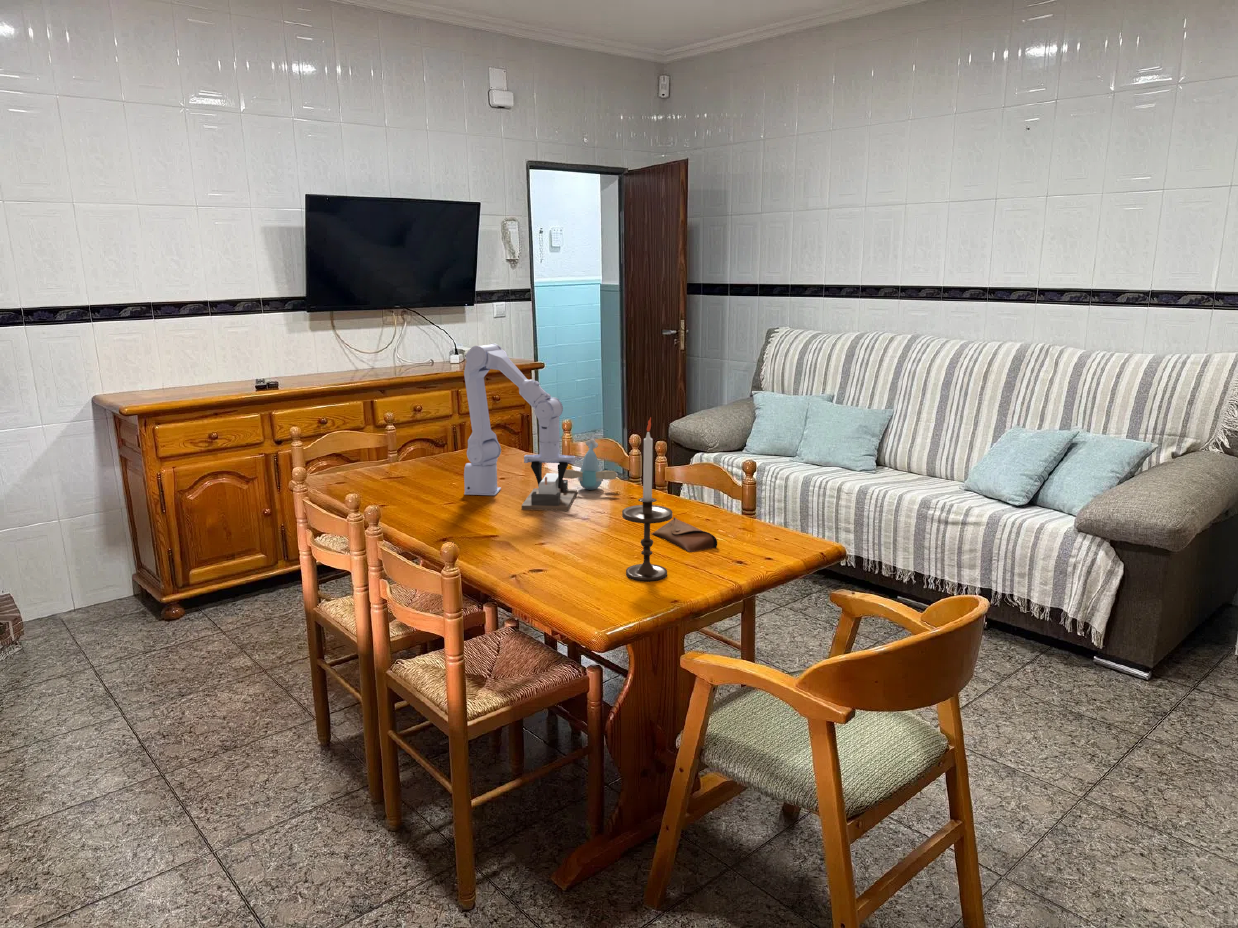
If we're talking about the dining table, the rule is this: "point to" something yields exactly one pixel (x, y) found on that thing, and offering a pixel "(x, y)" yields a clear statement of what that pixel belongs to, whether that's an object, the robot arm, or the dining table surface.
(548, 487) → the white rectangular block
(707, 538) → the sunglasses case
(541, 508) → the cradle jig
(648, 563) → the candlestick
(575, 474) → the toy figure
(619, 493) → the dining table surface
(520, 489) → the dining table surface
